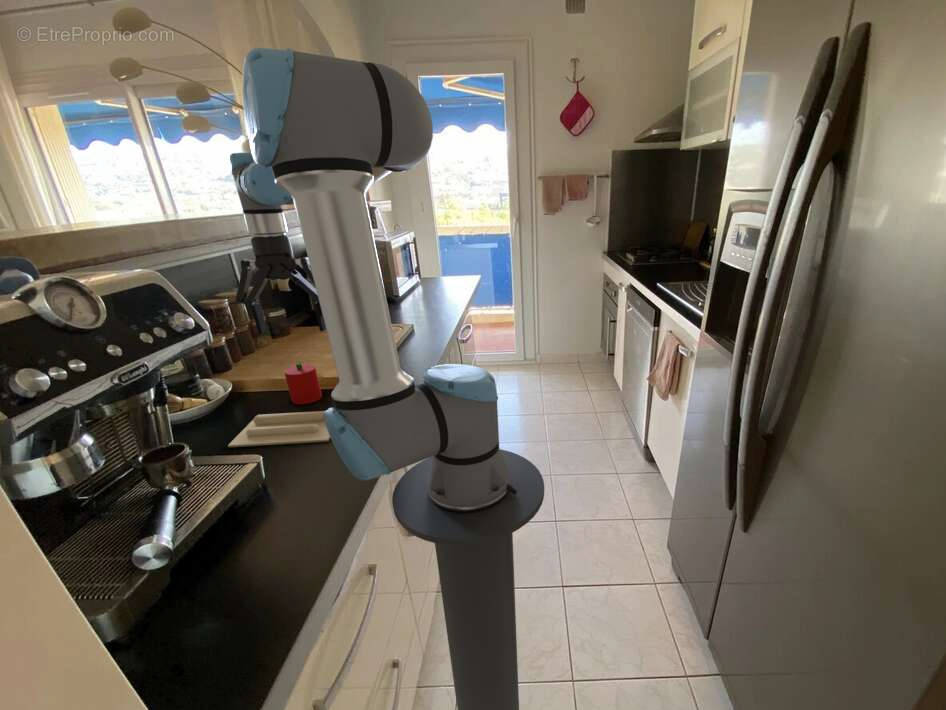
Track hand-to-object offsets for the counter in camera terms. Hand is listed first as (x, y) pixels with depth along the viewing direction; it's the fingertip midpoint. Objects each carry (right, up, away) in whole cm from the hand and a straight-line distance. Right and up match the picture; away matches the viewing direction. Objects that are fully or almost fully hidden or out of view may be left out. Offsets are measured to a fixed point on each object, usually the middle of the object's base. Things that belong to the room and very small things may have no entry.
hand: (293, 331), depth 105 cm
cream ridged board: (+2, -23, -5) cm, 23 cm away
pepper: (-1, -16, +9) cm, 18 cm away
